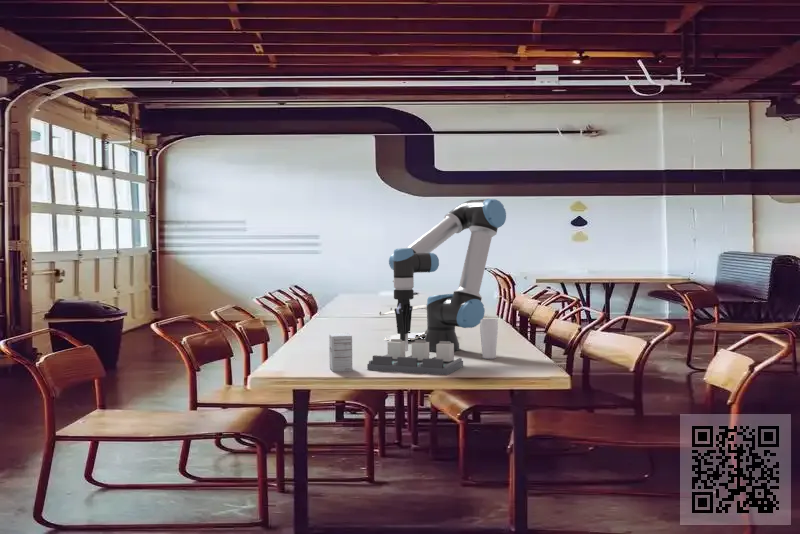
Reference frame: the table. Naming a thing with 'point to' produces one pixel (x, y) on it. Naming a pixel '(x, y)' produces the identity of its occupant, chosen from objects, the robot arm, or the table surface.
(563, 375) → the table surface
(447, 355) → the switch slider
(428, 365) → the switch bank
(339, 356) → the supplement box
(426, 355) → the white block with ridge
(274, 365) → the table surface
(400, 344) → the white block
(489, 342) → the drinking glass
